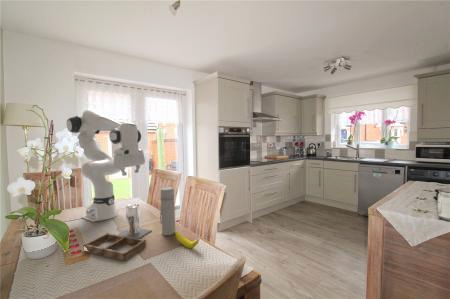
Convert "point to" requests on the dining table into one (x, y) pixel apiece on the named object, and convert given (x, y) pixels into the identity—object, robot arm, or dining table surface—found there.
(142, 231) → the charcoal mat
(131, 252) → the frame
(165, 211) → the water bottle
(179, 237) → the banana
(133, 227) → the beer glass
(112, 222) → the dining table surface
